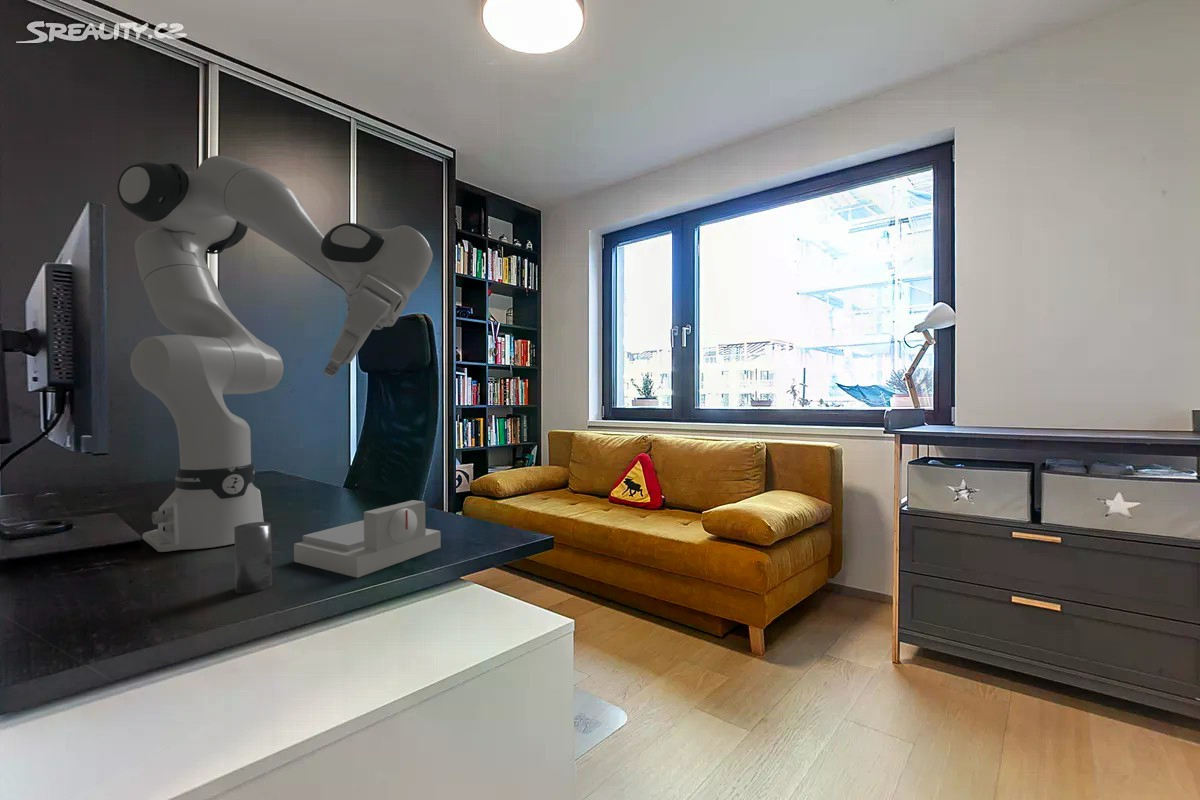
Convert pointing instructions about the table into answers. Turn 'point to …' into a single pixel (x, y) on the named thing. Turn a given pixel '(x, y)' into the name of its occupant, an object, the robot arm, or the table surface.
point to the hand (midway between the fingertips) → (331, 368)
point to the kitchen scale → (370, 541)
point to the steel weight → (253, 557)
